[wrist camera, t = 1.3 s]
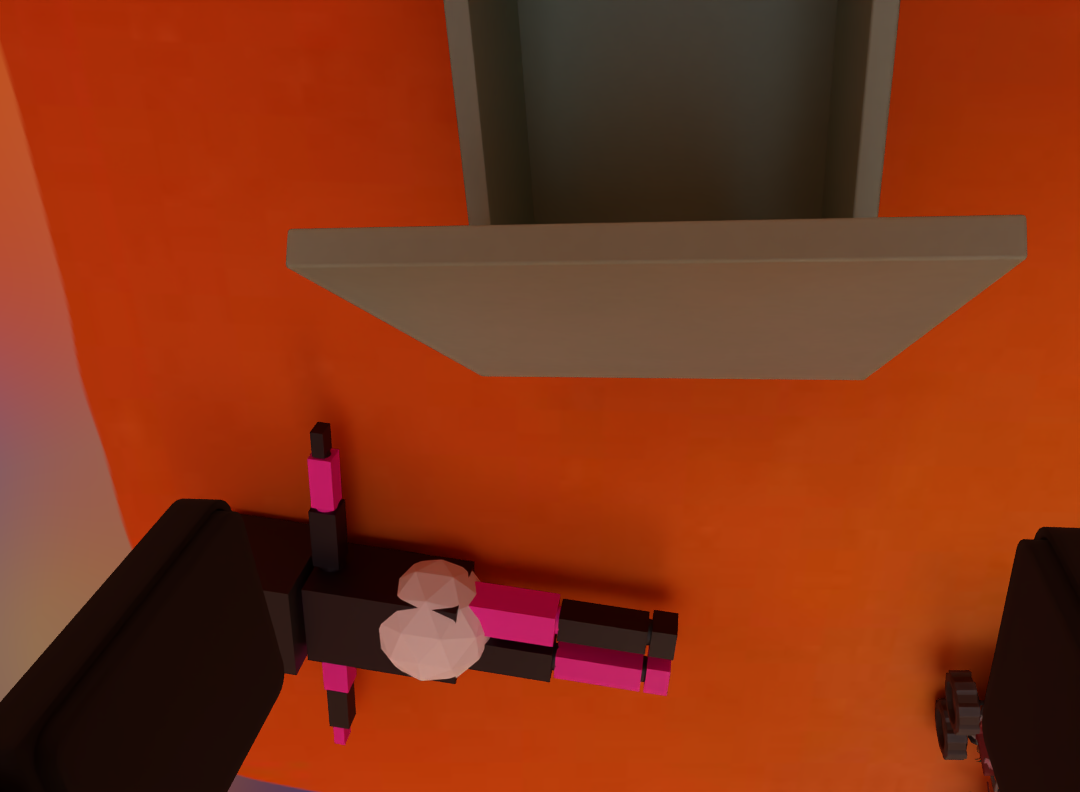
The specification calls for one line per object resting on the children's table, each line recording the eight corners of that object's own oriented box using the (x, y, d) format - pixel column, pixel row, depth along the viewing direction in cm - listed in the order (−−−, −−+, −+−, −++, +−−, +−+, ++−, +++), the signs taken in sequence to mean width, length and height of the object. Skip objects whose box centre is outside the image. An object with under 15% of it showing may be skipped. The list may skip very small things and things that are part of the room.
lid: (286, 228, 18) (284, 267, 18) (1028, 213, 16) (1028, 259, 16) (481, 355, 34) (481, 376, 34) (865, 357, 32) (865, 380, 32)
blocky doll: (218, 382, 48) (153, 448, 42) (702, 445, 45) (701, 525, 40) (258, 682, 59) (210, 767, 53) (651, 749, 56) (645, 845, 50)
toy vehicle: (1099, 660, 44) (1147, 830, 40) (1035, 750, 56) (1067, 890, 52) (949, 660, 46) (979, 824, 41) (917, 748, 57) (938, 883, 53)
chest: (491, -115, 35) (430, -114, 27) (869, -147, 32) (916, -156, 25) (525, 274, 42) (484, 360, 35) (834, 271, 40) (862, 363, 32)
